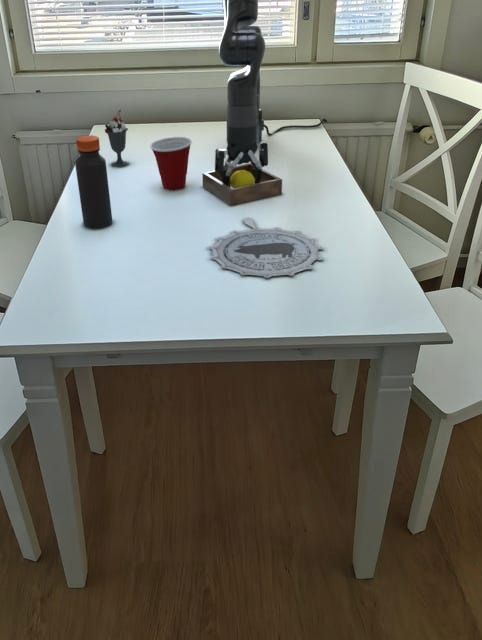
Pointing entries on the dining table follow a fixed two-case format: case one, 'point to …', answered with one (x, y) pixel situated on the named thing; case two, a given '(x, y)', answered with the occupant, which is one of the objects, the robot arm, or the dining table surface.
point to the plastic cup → (172, 160)
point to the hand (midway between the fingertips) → (241, 185)
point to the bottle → (93, 183)
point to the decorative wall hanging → (265, 252)
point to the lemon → (241, 179)
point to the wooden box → (234, 196)
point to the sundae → (117, 139)
